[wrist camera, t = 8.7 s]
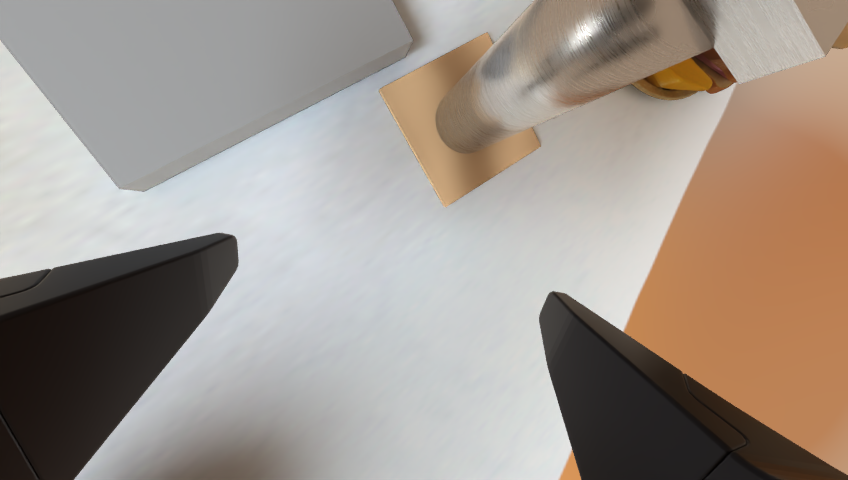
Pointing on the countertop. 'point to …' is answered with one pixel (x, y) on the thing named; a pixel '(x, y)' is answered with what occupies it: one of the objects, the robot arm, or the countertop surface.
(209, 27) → the cover plate
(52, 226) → the countertop surface
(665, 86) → the toy sandwich meal
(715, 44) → the t key
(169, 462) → the countertop surface
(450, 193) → the coaster
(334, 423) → the countertop surface
